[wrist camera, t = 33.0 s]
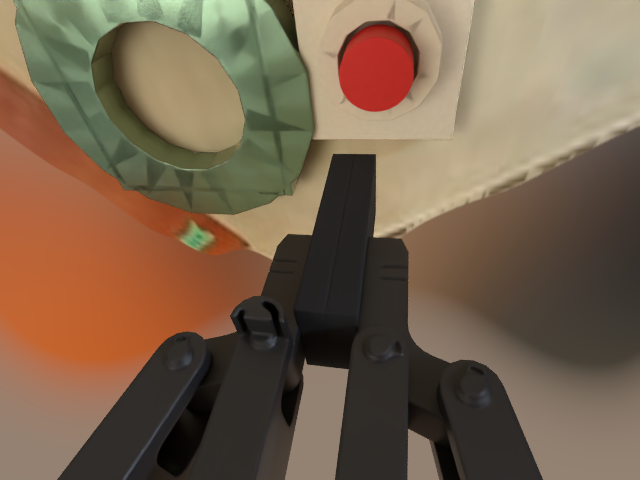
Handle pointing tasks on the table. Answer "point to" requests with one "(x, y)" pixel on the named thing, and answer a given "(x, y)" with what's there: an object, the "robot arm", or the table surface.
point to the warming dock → (142, 144)
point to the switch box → (429, 65)
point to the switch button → (377, 68)
